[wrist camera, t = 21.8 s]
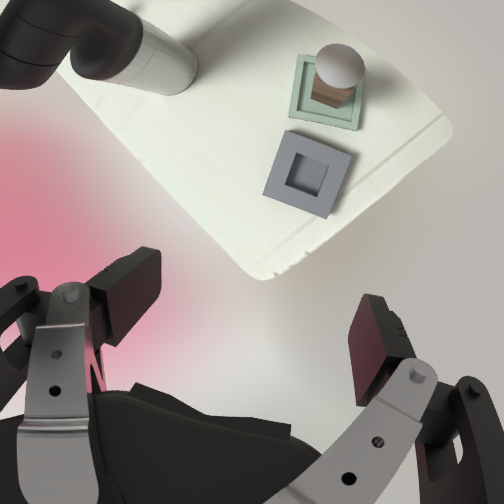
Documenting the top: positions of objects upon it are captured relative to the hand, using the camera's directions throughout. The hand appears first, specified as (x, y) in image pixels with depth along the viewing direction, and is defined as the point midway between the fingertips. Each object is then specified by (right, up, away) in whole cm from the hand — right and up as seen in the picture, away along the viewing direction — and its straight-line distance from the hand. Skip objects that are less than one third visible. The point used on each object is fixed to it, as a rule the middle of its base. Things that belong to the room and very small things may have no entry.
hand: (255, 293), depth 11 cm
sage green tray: (+11, +25, +25) cm, 37 cm away
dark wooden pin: (+11, +25, +24) cm, 36 cm away
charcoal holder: (+8, +13, +30) cm, 34 cm away
